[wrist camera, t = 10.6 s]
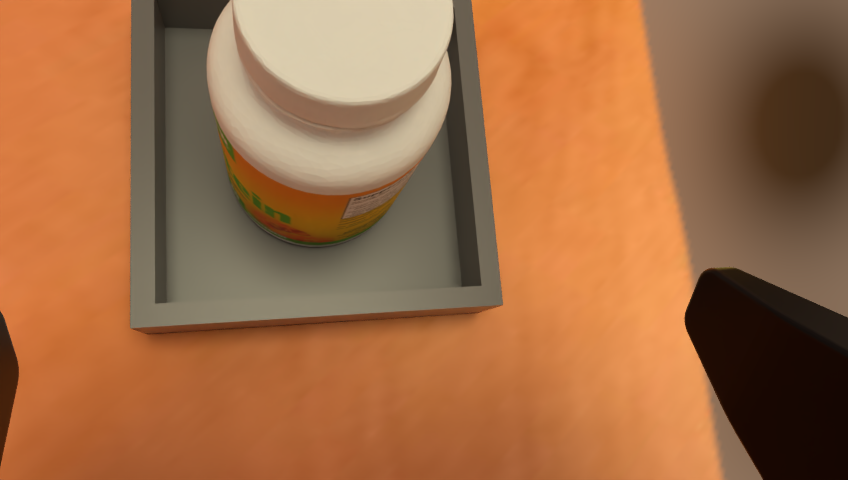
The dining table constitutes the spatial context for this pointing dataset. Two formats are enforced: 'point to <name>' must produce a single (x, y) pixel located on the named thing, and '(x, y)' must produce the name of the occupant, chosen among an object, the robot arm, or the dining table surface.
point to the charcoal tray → (272, 257)
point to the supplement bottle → (327, 107)
